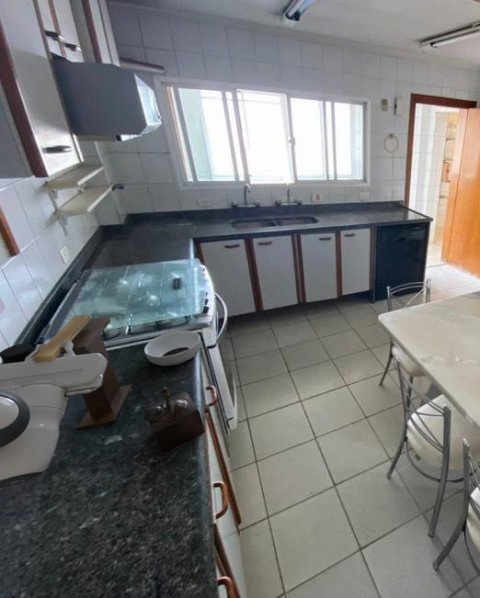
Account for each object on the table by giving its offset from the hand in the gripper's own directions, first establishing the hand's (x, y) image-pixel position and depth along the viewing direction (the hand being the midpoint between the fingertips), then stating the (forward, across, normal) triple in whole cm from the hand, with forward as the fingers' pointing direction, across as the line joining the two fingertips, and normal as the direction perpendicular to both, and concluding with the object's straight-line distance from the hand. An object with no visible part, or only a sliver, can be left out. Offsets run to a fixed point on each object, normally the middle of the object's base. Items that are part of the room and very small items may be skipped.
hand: (55, 343), depth 77 cm
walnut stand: (-6, 0, +30) cm, 31 cm away
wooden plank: (+3, 0, +3) cm, 4 cm away
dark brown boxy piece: (-23, -22, +20) cm, 37 cm away
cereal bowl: (+13, -14, +41) cm, 45 cm away
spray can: (-1, +16, +33) cm, 37 cm away
